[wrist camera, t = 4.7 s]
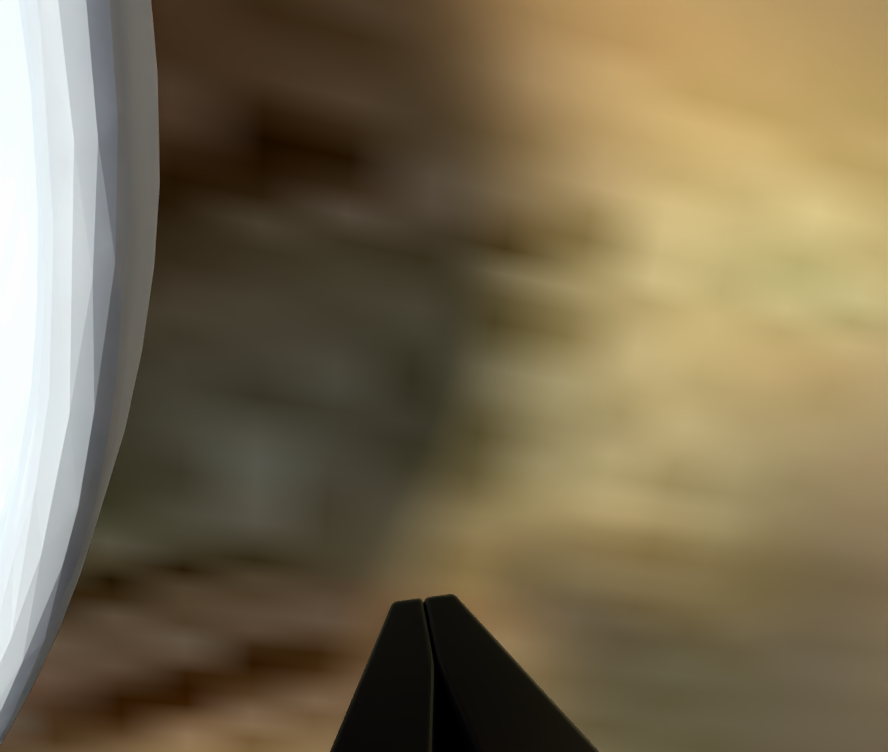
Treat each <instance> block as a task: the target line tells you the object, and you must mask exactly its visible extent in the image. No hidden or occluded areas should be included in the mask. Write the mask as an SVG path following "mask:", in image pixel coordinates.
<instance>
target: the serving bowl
mask: <svg viewBox="0 0 888 752" xmlns="http://www.w3.org/2000/svg"><path fill="white" fill-rule="evenodd" d="M159 187H160V166H159V113H158V72H157V61H156V49H155V37H154V25H153V14H152V5H151V0H0V745H1V743H2V742H3V740H4V738H5V736H6V734H7V732H8V731H9V729H10V727H11V725H12V723H13V722H14V720H15V718H16V716H17V714H18V713H19V711H20V709H21V707H22V705H23V704H24V702H25V700H26V698H27V696H28V694H29V693H30V691H31V689H32V687H33V685H34V682H35V680H36V678H37V676H38V674H39V672H40V670H41V668H42V665H43V663H44V661H45V659H46V657H47V655H48V653H49V651H50V649H51V646H52V644H53V642H54V640H55V638H56V636H57V634H58V631H59V629H60V626H61V623H62V621H63V618H64V616H65V613H66V610H67V608H68V605H69V603H70V600H71V597H72V595H73V592H74V589H75V587H76V584H77V582H78V579H79V576H80V574H81V571H82V568H83V565H84V562H85V558H86V555H87V552H88V549H89V546H90V543H91V540H92V537H93V533H94V530H95V527H96V524H97V520H98V517H99V514H100V510H101V507H102V504H103V501H104V497H105V494H106V491H107V488H108V484H109V481H110V478H111V474H112V471H113V468H114V465H115V461H116V458H117V455H118V451H119V448H120V445H121V442H122V438H123V435H124V432H125V428H126V423H127V419H128V414H129V409H130V405H131V400H132V395H133V391H134V386H135V382H136V377H137V372H138V368H139V363H140V358H141V354H142V348H143V341H144V334H145V327H146V320H147V313H148V306H149V299H150V292H151V285H152V278H153V271H154V262H155V247H156V232H157V217H158V202H159Z"/></svg>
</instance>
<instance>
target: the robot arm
mask: <svg viewBox="0 0 888 752" xmlns="http://www.w3.org/2000/svg"><path fill="white" fill-rule="evenodd" d="M330 752H599V751H598V750H597V749H596V748H595V747H594V746H593V745H592V743H591V742H590V741H589V740H588V739H587V738H586V737H585V736H584V735H583V734H582V733H581V731H580V730H579V729H578V728H577V727H576V726H575V725H574V724H573V723H572V722H571V721H570V719H569V718H568V717H567V716H566V715H565V714H564V713H563V712H562V711H561V710H560V709H559V708H558V706H557V705H556V704H555V703H554V702H553V701H552V700H551V699H550V698H549V697H548V696H547V694H546V693H545V692H544V691H543V690H542V689H541V688H540V687H539V686H538V685H537V684H536V683H535V681H534V680H533V679H532V678H531V677H530V676H529V675H528V674H527V673H526V672H525V671H524V669H523V668H522V667H521V666H520V665H519V664H518V663H517V662H516V661H515V660H514V659H513V657H512V656H511V655H510V654H509V653H508V652H507V651H506V650H505V649H504V648H503V647H502V646H501V644H500V643H499V642H498V641H497V640H496V639H495V638H494V637H493V636H492V635H491V634H490V632H489V631H488V630H487V629H486V628H485V627H484V626H483V625H482V624H481V623H480V622H479V621H478V619H477V618H476V617H475V616H474V615H473V614H472V613H471V612H470V611H469V610H468V609H467V607H466V606H465V605H464V604H463V603H462V602H461V601H460V600H459V599H458V598H457V597H456V596H455V595H453V594H447V595H440V596H432V597H427V598H426V599H425V601H424V602H423V601H422V600H421V599H418V598H417V599H410V600H402V601H396V602H394V603H393V604H392V605H391V607H390V609H389V612H388V614H387V617H386V619H385V621H384V624H383V626H382V629H381V631H380V633H379V636H378V638H377V640H376V643H375V645H374V648H373V650H372V652H371V655H370V657H369V660H368V662H367V664H366V667H365V669H364V672H363V674H362V676H361V679H360V681H359V684H358V686H357V688H356V691H355V693H354V696H353V698H352V700H351V703H350V705H349V708H348V710H347V712H346V715H345V717H344V719H343V722H342V724H341V727H340V729H339V731H338V734H337V736H336V739H335V741H334V743H333V746H332V748H331V751H330Z"/></svg>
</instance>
